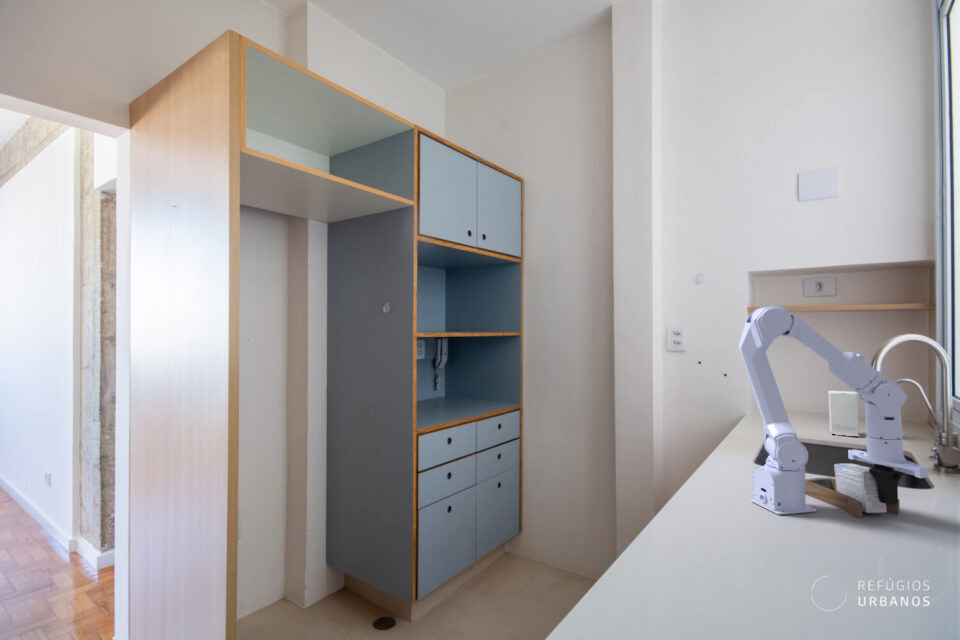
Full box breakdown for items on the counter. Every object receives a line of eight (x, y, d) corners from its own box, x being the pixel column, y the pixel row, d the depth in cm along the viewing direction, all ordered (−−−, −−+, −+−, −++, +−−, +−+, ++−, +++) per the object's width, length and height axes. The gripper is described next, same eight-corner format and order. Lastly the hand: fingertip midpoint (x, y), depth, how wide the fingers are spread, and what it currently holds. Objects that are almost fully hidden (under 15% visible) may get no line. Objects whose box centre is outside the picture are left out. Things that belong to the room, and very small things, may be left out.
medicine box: (887, 513, 97) (883, 470, 98) (866, 513, 97) (862, 470, 98) (856, 502, 105) (852, 463, 106) (836, 503, 104) (833, 463, 105)
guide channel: (858, 518, 96) (858, 503, 96) (795, 492, 111) (795, 479, 111) (901, 514, 98) (901, 499, 98) (834, 489, 113) (834, 476, 113)
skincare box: (857, 434, 169) (856, 391, 169) (860, 438, 163) (859, 393, 163) (828, 431, 173) (828, 389, 173) (830, 435, 168) (829, 391, 168)
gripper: (939, 443, 90) (944, 514, 90) (865, 428, 105) (869, 489, 104) (909, 446, 89) (913, 518, 89) (838, 430, 103) (842, 492, 103)
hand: (887, 502), depth 96 cm, fingers closed, pressing on medicine box
